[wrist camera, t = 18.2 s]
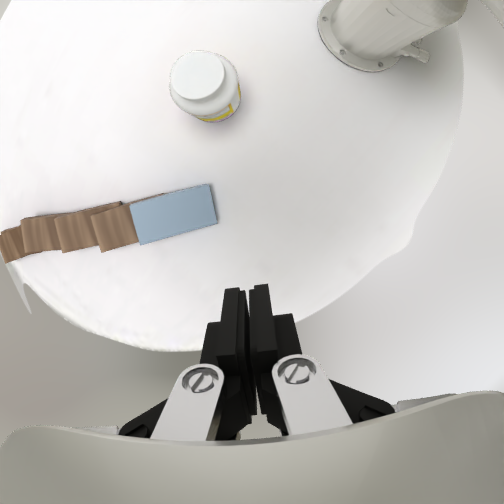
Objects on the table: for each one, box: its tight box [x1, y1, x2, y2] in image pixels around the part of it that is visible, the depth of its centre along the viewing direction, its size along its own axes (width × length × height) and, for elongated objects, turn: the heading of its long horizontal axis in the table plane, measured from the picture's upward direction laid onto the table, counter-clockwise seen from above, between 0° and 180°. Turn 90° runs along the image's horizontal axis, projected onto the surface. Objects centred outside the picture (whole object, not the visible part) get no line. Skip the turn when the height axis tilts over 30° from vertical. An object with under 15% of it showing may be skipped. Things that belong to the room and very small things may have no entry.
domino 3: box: [54, 201, 121, 253], centre depth 35 cm, size 2×5×10 cm
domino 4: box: [91, 193, 163, 253], centre depth 35 cm, size 2×5×10 cm
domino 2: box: [20, 213, 69, 253], centre depth 35 cm, size 2×5×10 cm
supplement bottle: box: [170, 50, 241, 122], centre depth 26 cm, size 7×7×13 cm
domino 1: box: [0, 225, 35, 264], centre depth 36 cm, size 2×5×10 cm
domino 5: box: [129, 184, 217, 245], centre depth 34 cm, size 2×5×10 cm
